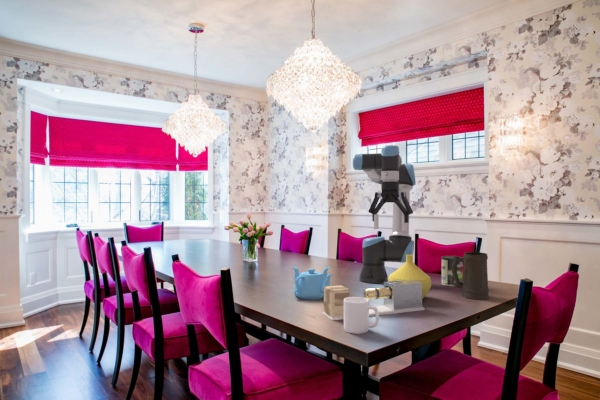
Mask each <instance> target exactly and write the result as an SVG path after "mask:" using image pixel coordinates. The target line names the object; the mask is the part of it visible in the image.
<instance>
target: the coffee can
mask: <svg viewBox="0 0 600 400" xmlns="http://www.w3.org/2000/svg"><path fill="white" fill-rule="evenodd" d="M454 256H455V255H443V256H441V285H442V286H447V287H454V284H455V279H454V277H453V274H452V263H453V261H454ZM460 257H461V256H460ZM461 258H463V257H461ZM456 270H457V275H458V278H459V281H460V283H463V263H462V262H458V263H457V267H456Z"/></svg>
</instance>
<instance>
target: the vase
mask: <svg viewBox="0 0 600 400" xmlns="http://www.w3.org/2000/svg"><path fill="white" fill-rule="evenodd" d="M400 280H414V281H418V282H421V283H422V300H423V299H424V298H425V297H426V296H427V295H428V294H429V291H430V290H431V287H432V279H431V277H430V276H429V275H428V274H427V273H425V272H424V271H423V269H421V268H420V267H418V266H417V265H416V264H415V263H414V254H413V255H406V262H405V263H404V264H402V265H401V266H400V267H398V268H397V269H396V270H395V271H393V272H391V273H390V274H389V275H388V281H400ZM388 281H387V282H388Z"/></svg>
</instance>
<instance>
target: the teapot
mask: <svg viewBox="0 0 600 400" xmlns="http://www.w3.org/2000/svg"><path fill="white" fill-rule="evenodd" d="M292 267H293V270H294V278H293V281H294V282H293V283H294V286H293V295H295V296H296V297H297V298H299V299H302V300H309V301H310V300H314V301H315V300H321V299H322V300H323V299H324V287H326V286H331V278H332V276H333V275H334V273H331V274H330V273H329V274H328V270H329V268H330V266H326V267H325V268H324V269H323V271H322V272H319V271H315V268H308V269H307V271H302V272H301V273H300V272H299V268H298V267H297V266H295V265H293V266H292Z"/></svg>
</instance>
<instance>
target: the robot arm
mask: <svg viewBox="0 0 600 400" xmlns="http://www.w3.org/2000/svg"><path fill="white" fill-rule="evenodd" d="M380 151H381V152H379V153H377V152H376V153H357V154H354V155H353V156H352V157H353V158H352V168H353V170H355V171H363V172H364V173H365V174H366V175H367V178H368V179H369V180H370V181H371V182H373V183H375V184H378V185H380V186H381V188H380V190H381V192H379V191H377V192H374V198H373V199H372V202H371V204H370V207H369V209H368V213H370V214H371V215H372V217H371V218H372V220H371V221H372V222H373V230H379V224H380V223H379V222H380V221H379V217H380V216H379V215H380V214H378V213H379V212H380V210H381V209H382V207H383V206H384V205H385V204H386V203H392V204H393V205H392V227H391V234H390V235H388V239H386V238H385V236H374V237H367V238H364V239H363V240H362V248H361V249H362V267H361V269H360V273H359V277H358V278H359V279H358V280H359V282H363V283H369V284H384V282H388V278H389V275H388V273H387V270H386V267H385V263H386V262H387V263H401V264H403V263H405V262H406V255H413V256H414V252H415V240H412V239H413V237H412V236H411V235H410V215H412V214H414V210H413V209H412V207H411V205H410V197H411V193H410V192H411V191H412V190H413V188H414V186H416V184H417V183H416V174H415V168H414V165H413V164H411V163H403V164H402V162H403V161H402V160H403V159H402V157H401V155H400V147H399V146H398V145H396V144H395V145H393V144H392V145H384V146H382V147H381V150H380ZM380 198H381V199H380ZM379 199H380V201H379Z"/></svg>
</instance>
